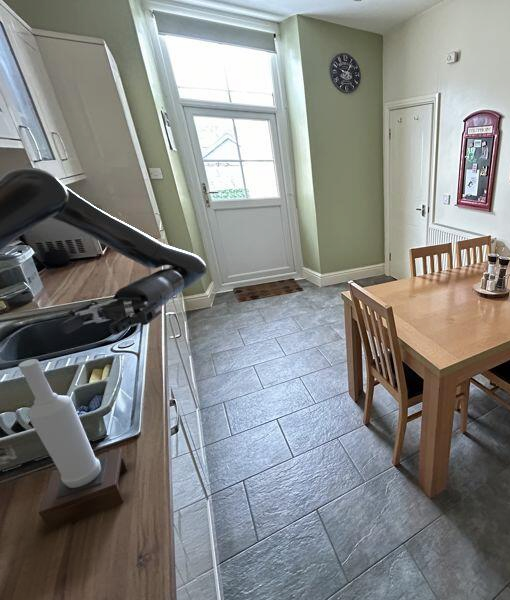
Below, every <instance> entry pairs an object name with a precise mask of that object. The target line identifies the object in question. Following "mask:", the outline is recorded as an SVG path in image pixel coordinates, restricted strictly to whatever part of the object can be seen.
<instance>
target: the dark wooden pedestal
mask: <svg viewBox="0 0 510 600" xmlns="http://www.w3.org/2000/svg"><path fill="white" fill-rule="evenodd" d="M95 458H97V459H98V460H99V462H100V467H101V471H100V473H99V475H98V476H97V477H96V478H95V479H94V480H92V481H91V482H89V483H87V484H85V485H83V486H81V487H76V488H69V487H68V486H66V485H65V484H64V483H63V482H62V480H61V473H60V472H59V470H58V468H57V469H55V470H52V471H51V474H50V477H49V480H48V483H47V486H46V488H45V492H44V493H43V494H44V495H43V497H42V500H41V502H40V506H39V508H38V512H37V513H38V515H39V516H40V517H41V519H42V521H43V522H44V524H45V526H46V528H47V529H48V531H53V530H56V529H58V528H61V527H64V526H66V525H68V524H71V523H74V522H76V521H78V520H79V521H80V520H82V519H84V518H87V517H89V516H92V515H95V514H97V513H99V512H102V511H105V510H107V509H110V508H112V507H115V506H117V505H120V504H123V503H124V501H125V496H124V494H123V491H122V489H121V487H120V484H119V479H120V474H121V473H124V472H127V471H128V469H129V467H128V466H129V465H128V463H127V461H126V458H125V456H124V453H123V450H122V449H121V448H120V449H116V450H114V451H111V452H107V453H104V454H100V455H98V456H95Z"/></svg>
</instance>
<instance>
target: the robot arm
mask: <svg viewBox="0 0 510 600" xmlns="http://www.w3.org/2000/svg"><path fill="white" fill-rule="evenodd" d="M50 219H54V220H55V221H58V222H61V223H63V224H66V225H68V226H70V227H73V228H75V230H76V229H77V230H78V231H80V232H82V233H85V234H86V235H88V236H90V237H91V238H93V239H95V240H96V241H98V242H100V243H101V244H103V245H105V246H107V247H108V248H110V249H111V250H113V251H115V252H117V253H118V254H120V255H122V256H124V257H126V258H128V259H129V260H132V261H134V262H135V263H138V264H140V265H142V266H144V267H146V268H148V269H151V270H155V269H156V270H157V269H159V268H161V267H164V266H168V267H167V268H162V269H160V270H157V271H155V272H152V273H150V274H149V275H146V276H143V277H140V278H138V279H137V280H135V281H132V282H131V283H129V284H126V285H124V286H123V287H121V288H119V289H118V290H117V291H116V292H115V294H114V296H113V298H112V299H110V300H107V301H105V302H101V303H98V302H99V301H98V299H92V300H89V301H88V302H85V303H82V304H81V305H79V306H77V307H74V308H71V309H70V310H67V314H68V317H69V318H67V319H66V320H64V321H62V322H60V324H59V327H60V330H61V332H62V334H65V335H66V334H71V333H73V332H75V331H76V330H78V329H80V328H82V327H84V326H85V325H88V324H91V323H96V324H100V323H103V322H108V321H111V320H114V321H112V322H111V323H110V324H108V328H109V331H110V334H111V335H113V336H118V335H119V334H121V333H123V332H124V331H126V330H127V329H129V328H130V327H135V326H137V325H138V324H140V325H141V326H146V325H149V324H150V323H152V321H154V320H155V319H156V318H157V317H158V316H160V315H161V314H162V308H161V307H162V306H164V305H165V304H167V303H168V302H169V301H170V300H171V299H173V298H174V297H175V296H177V295H178V294H179V293H182V292H183V291H185V290H187V289H189V288H190V287H191V286H192V285H194V284H195V283H197V282H198V281H199V280H200V279H202V278H203V277H204V276H205V275H206V273H207V272H208V266H207V264H206V262H205V261H204V260H203V259H202V257H200V256H198V255H197V254H195V253H192V252H188V251H186V250H182V249H179V248H176V247H173V246H170V245H166V244H164V243H162V242H160V241H158V240H157V239H155V238H153V237H151V236H150V235H148V234H147V233H145V232H142V231H141V230H139V229H137V228H136V227H133V226H131V225H129V224H128V223H125V222H124V221H122V220H119V219H117V218H116V217H113V216H111V215H110V214H108V213H107V212H105V211H103V210H101V209H99V208H97V207H96V206H94V205H93V204H91V203H90V202H89V201H87V200H85V199H84V198H82V197H80V195H78V194H77V193H75V192H74V191H73V190H71V189H70V188H68V187H67V186H66V185H64V183H63V182H62V181H61V180H60V179H59V178H58V177H56V175H54V174H52V173H50V172H48V171H46V170H43V169H40V168H37V167H32V166H31V167H30V166H22V167H16V168H12V169H10V170H8V171H7V172H6V173H4V174H3V175H2V176H1V178H0V253H2V252H3V251H4V249H6V247H7V246H9V245H10V244H11V243H12V242H13V241H15V240H16V239H17V238H19V237H20V236H22V235H24V234H25V233H27V232H29V231H30V230H32V229H33V228H35V227H37V226H38V225H41V224H42V223H45V222H46V221H48V220H50ZM100 312H101V313H102V317H100V316H99V315H100V314H99V313H100Z"/></svg>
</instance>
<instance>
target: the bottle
mask: <svg viewBox="0 0 510 600" xmlns="http://www.w3.org/2000/svg"><path fill="white" fill-rule="evenodd" d="M18 368H19V371H21V374H22V376H23V377H24V379H25V380H26V382H27V385H28V386H29V389H30V390H31V392H32V394H33V397H34V398H35V399H34V400H33V405H31V407H30V408H29V409H28V410H27V411H26V417H27V418H28V420H29V422H30V424H31V425H32V426H33V429H34V430H35V432H36V433H37V435H38V437H39V439H40V440H41V443H42V444H43V446H44V447H45V449H46V451H47V453H48V454H49V457H50V458H51V460H52V461H53V463H54V465H55V466H56V468H57V469H58V470H59V472H60V473H61V480H62V482H63V483H64V484H65V485H66V486H68V487H69V488H76V487H81V486H83V485H85V484H87V483H89V482H91V481H92V480H94V479H95V478H96V477H97V476H98V475H99V473H100V471H101V467H100V462H99V460H98V459H97V458H95V457H96V456H95V453H94V451H93V448H92V445H91V443H90V440H89V438H88V437H87V433H86V431H85V429H84V426H83V424H82V422H81V419H80V416H79V414H78V412H77V410H76V408H75V404H74V402H73V399H72V397H70V396H69V395H64V394H63V395H60V394H58V393H56V392H53V390H52V387H51V385H50V384H49V381H48V379H47V378H46V374H45V373H44V371H43V368H42V365H41V363H40V361H39V359H37V358H32V359H26V360H24V361H22V362H20V363H18Z"/></svg>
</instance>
